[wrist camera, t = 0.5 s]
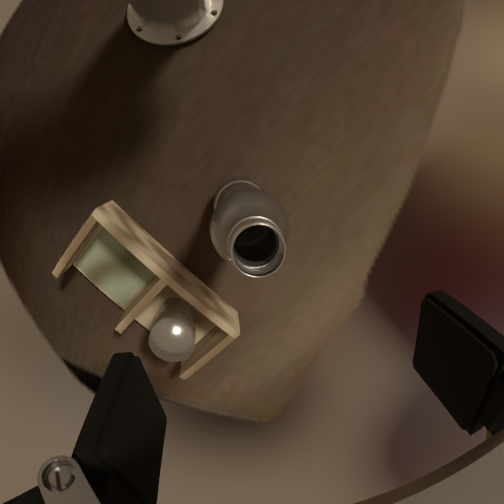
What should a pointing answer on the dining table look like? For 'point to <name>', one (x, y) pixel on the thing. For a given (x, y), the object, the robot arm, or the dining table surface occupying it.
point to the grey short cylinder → (174, 330)
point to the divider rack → (147, 281)
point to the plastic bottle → (249, 227)
